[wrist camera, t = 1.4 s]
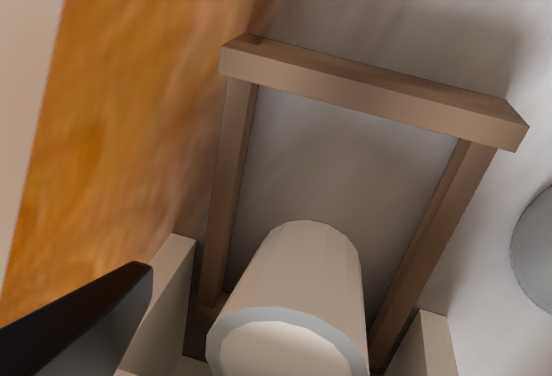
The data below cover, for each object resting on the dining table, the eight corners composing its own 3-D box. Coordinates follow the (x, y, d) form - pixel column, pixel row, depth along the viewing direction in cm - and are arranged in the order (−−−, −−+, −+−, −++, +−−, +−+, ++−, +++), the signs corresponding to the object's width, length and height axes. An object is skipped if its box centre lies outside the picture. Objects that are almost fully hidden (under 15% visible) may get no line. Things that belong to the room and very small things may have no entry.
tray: (506, 100, 16) (529, 126, 14) (377, 352, 25) (376, 398, 22) (244, 33, 17) (220, 45, 15) (204, 297, 26) (184, 335, 23)
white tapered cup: (306, 184, 20) (276, 278, 14) (400, 271, 22) (408, 390, 16) (224, 254, 24) (173, 354, 18) (310, 326, 25) (288, 441, 19)
